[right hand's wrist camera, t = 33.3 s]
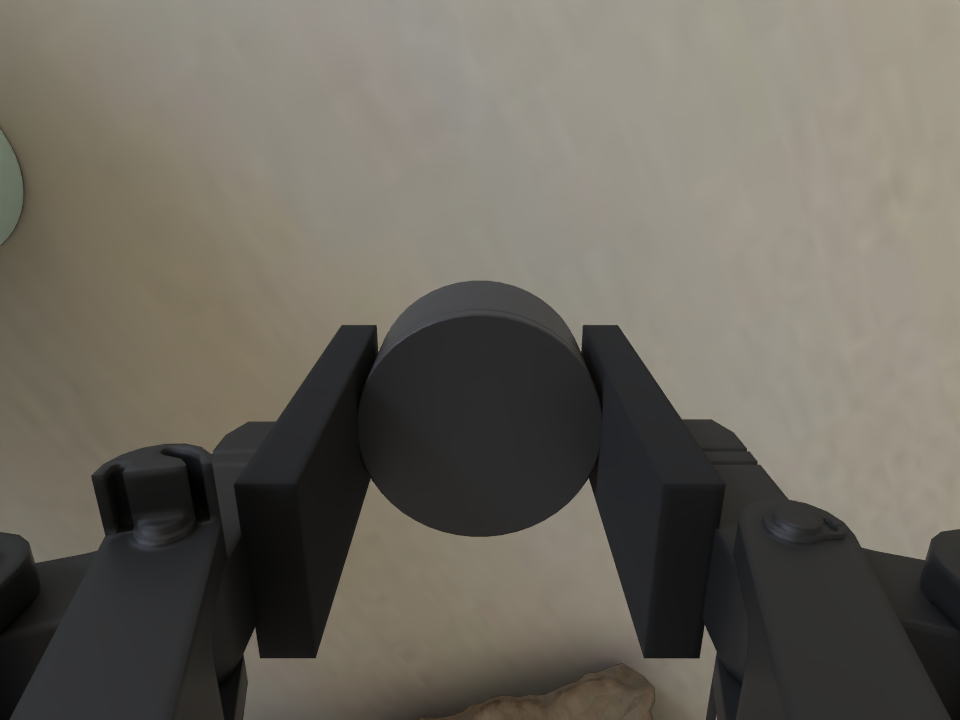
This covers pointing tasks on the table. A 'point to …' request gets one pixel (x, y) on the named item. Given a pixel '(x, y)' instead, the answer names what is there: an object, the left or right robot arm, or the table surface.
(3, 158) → the bottle
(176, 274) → the table surface
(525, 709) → the stone
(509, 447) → the cap
